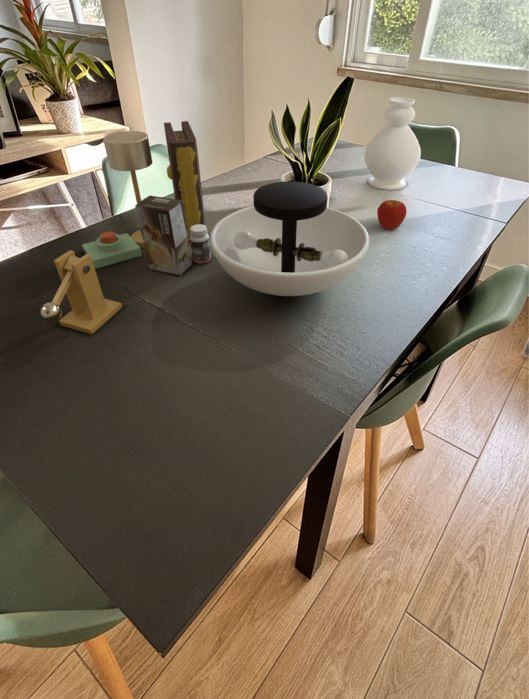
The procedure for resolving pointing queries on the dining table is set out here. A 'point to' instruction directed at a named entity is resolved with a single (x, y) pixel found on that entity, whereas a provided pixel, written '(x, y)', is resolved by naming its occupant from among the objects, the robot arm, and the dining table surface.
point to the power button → (108, 237)
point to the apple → (391, 214)
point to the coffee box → (164, 234)
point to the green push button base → (112, 250)
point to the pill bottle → (200, 244)
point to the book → (185, 172)
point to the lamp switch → (59, 294)
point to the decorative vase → (393, 147)
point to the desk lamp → (129, 160)
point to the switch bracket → (85, 296)
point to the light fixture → (289, 241)
